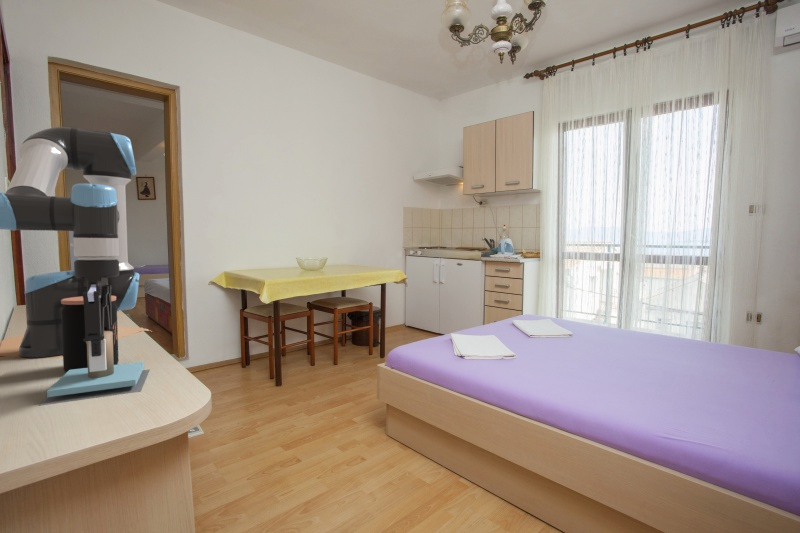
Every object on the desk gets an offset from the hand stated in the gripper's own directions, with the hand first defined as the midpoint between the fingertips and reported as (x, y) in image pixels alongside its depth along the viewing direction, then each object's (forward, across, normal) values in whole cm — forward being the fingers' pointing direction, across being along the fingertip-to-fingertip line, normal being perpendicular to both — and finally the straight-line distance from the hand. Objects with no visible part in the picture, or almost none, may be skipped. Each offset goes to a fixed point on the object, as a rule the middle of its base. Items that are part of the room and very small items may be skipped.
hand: (100, 366), depth 83 cm
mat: (+5, 0, 0) cm, 5 cm away
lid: (+3, 0, 0) cm, 3 cm away
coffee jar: (+5, -17, -5) cm, 18 cm away
